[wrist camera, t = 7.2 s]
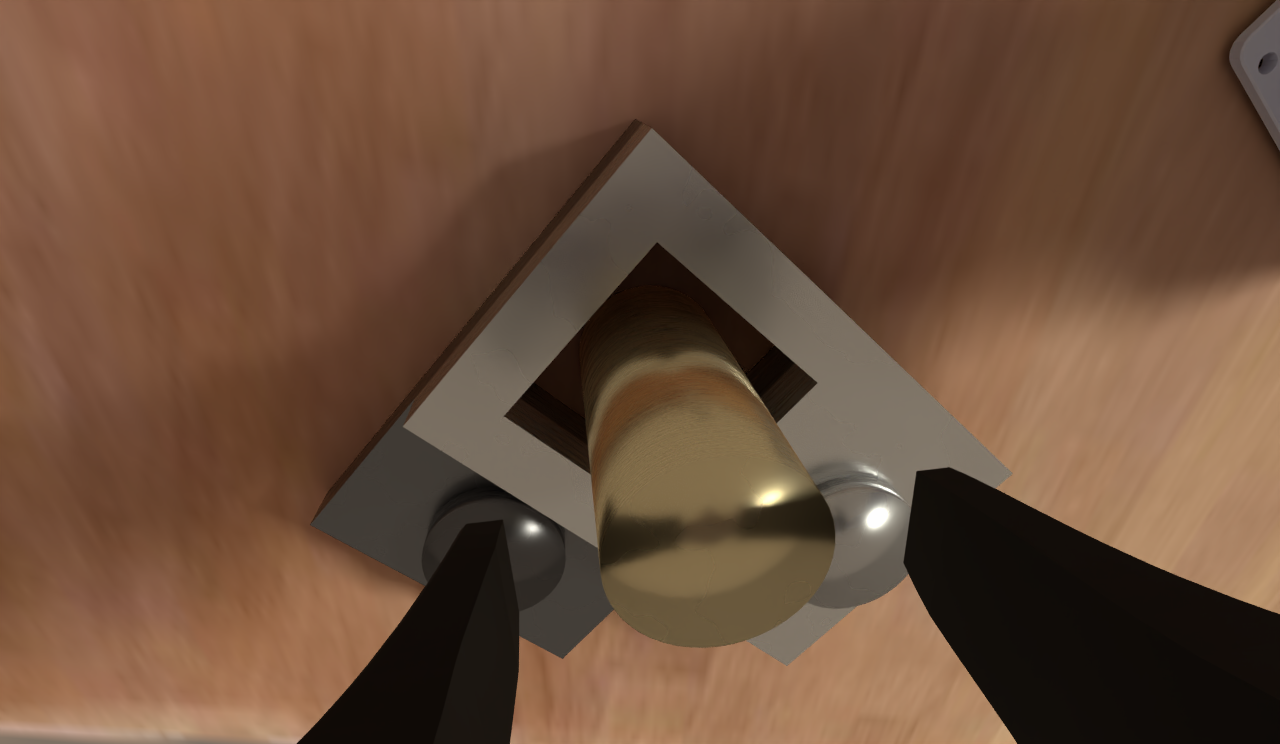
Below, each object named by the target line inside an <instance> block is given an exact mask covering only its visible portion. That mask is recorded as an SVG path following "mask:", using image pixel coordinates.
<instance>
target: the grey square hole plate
mask: <svg viewBox="0 0 1280 744" xmlns="http://www.w3.org/2000/svg"><path fill="white" fill-rule="evenodd" d="M657 242H658V243H659V244H660V245H661V246H662V247H663V248H664V249H666V250H667V251H668V252H669V253H670V254H671V255H672V256H674V257H675V258H676V259H677V260H678V261H679V262H680V263H682V264H683V265H684V266H685V267H686V268H687V269H688V270H690V271H691V272H692V273H693V274H694V275H695V276H696V277H698V278H699V279H700V280H701V281H702V282H703V283H704V284H706V285H707V286H708V287H709V288H710V289H711V290H712V291H713V292H715V293H716V294H717V295H718V296H719V297H720V298H721V299H723V300H724V301H725V302H726V303H727V304H728V305H729V306H731V307H732V308H733V309H734V310H735V311H736V312H737V313H739V314H740V315H741V316H742V317H743V318H744V319H745V320H747V321H748V322H749V323H750V324H751V325H752V326H753V327H755V328H756V329H757V330H758V331H759V332H760V333H761V334H763V335H764V336H765V337H766V338H767V339H768V340H769V341H771V342H772V343H773V344H774V345H775V346H776V347H777V348H778V349H780V350H781V351H782V352H783V353H784V354H785V355H786V356H788V357H789V358H790V359H791V360H792V361H793V362H794V364H793V365H792V366H791V367H790V368H789V369H788V370H787V371H786V372H785V373H784V374H783V375H782V376H781V377H780V378H779V379H778V380H777V381H776V382H775V383H774V384H773V385H772V386H771V387H770V388H769V389H768V390H767V391H766V392H765V393H764V394H763V395H762V396H761V397H760V398H761V400H762V402H763V403H764V405H765V406H766V408H767V409H768V411H769V412H770V414H771V416H772V417H773V419H774V420H775V422H776V423H777V425H778V427H779V428H780V430H781V431H782V433H783V434H784V436H785V438H786V439H787V441H788V442H789V444H790V445H791V447H792V448H793V450H794V452H795V453H796V455H797V456H798V458H799V459H800V461H801V463H802V464H803V466H804V467H805V469H806V470H807V472H808V473H809V475H810V477H811V478H812V480H813V481H814V483H815V484H816V486H817V488H818V489H819V491H820V492H821V494H822V495H823V497H824V499H825V501H826V502H827V504H828V506H829V508H830V511H831V514H832V517H833V520H834V526H835V549H834V555H833V559H832V562H831V565H830V568H829V570H828V572H827V574H826V576H825V579H824V581H823V582H822V584H821V585H820V587H819V588H818V590H817V591H816V593H815V594H814V595H813V596H812V597H811V599H810V600H809V601H808V602H807V603H806V604H805V605H804V606H803V607H802V608H801V609H800V610H799V611H798V612H797V613H795V614H794V615H793V616H791V617H790V618H789V619H788V620H786V621H785V622H783V623H781V624H780V625H778V626H777V627H775V628H773V629H771V630H769V631H767V632H765V633H763V634H761V635H759V636H756V637H754V638H751V639H749V640H746V641H748V642H749V643H751V644H753V645H754V646H756V647H757V648H759V649H761V650H762V651H764V652H765V653H767V654H769V655H770V656H772V657H773V658H775V659H777V660H778V661H780V662H781V663H783V664H785V665H786V666H787V665H789V664H790V663H791V662H792V661H793V660H794V659H796V658H797V657H798V656H799V655H800V654H801V653H803V652H804V651H805V650H806V649H807V648H808V647H810V646H811V645H812V644H813V643H814V642H816V641H817V640H818V639H819V638H820V637H821V636H823V635H824V634H825V633H826V632H827V631H828V630H830V629H831V628H832V627H833V626H834V625H835V624H837V623H838V622H839V621H840V620H841V619H843V618H844V617H845V616H846V615H847V614H848V613H850V612H851V611H852V610H853V609H854V608H855V607H857V606H859V605H862V604H866V603H868V602H871V601H873V600H875V599H877V598H879V597H881V596H883V595H884V594H886V593H888V592H889V591H891V590H892V589H893V588H894V587H896V586H897V585H898V584H899V583H900V582H901V581H902V580H903V579H904V578H905V577H906V576H907V575H908V572H907V570H906V568H905V565H904V563H903V561H904V554H905V547H906V540H907V533H908V526H909V519H910V512H911V505H912V498H913V491H914V484H915V477H916V471H921V470H930V469H938V468H947V467H950V468H953V469H955V470H957V471H960V472H962V473H964V474H966V475H969V476H971V477H973V478H975V479H977V480H979V481H981V482H983V483H985V484H987V485H989V486H991V487H993V488H996V487H998V486H999V485H1000V484H1001V483H1002V482H1003V481H1005V480H1006V479H1007V478H1008V477H1009V476H1011V475H1012V474H1013V473H1012V472H1011V471H1010V470H1008V469H1007V468H1006V467H1005V466H1004V465H1003V464H1002V463H1001V462H1000V461H999V460H998V459H997V458H996V457H995V456H994V455H993V454H992V453H991V452H990V451H989V450H988V449H987V448H986V447H984V446H983V445H982V444H981V443H980V442H979V441H978V440H977V439H976V438H975V437H974V436H973V435H972V434H971V433H970V432H969V431H968V430H967V429H966V428H965V427H964V426H963V425H961V424H960V423H959V422H958V421H957V420H956V419H955V418H954V417H953V416H952V415H951V414H950V413H949V412H948V411H947V410H946V409H945V408H944V407H943V406H942V405H941V404H940V403H939V402H937V401H936V400H935V399H934V398H933V397H932V396H931V395H930V394H929V393H928V392H927V391H926V390H925V389H924V388H923V387H922V386H921V385H920V384H919V383H918V382H917V381H916V380H914V379H913V378H912V377H911V376H910V375H909V374H908V373H907V372H906V371H905V370H904V369H903V368H902V367H901V366H900V365H899V364H898V363H897V362H896V361H895V360H894V359H893V358H892V357H890V356H889V355H888V354H887V353H886V352H885V351H884V350H883V349H882V348H881V347H880V346H879V345H878V344H877V343H876V342H875V341H874V340H873V339H872V338H871V337H870V336H869V335H868V334H866V333H865V332H864V331H863V330H862V329H861V328H860V327H859V326H858V325H857V324H856V323H855V322H854V321H853V320H852V319H851V318H850V317H849V316H848V315H847V314H846V313H845V312H843V311H842V310H841V309H840V308H839V307H838V306H837V305H836V304H835V303H834V302H833V301H832V300H831V299H830V298H829V297H828V296H827V295H826V294H825V293H824V292H823V291H822V290H821V289H819V288H818V287H817V286H816V285H815V284H814V283H813V282H812V281H811V280H810V279H809V278H808V277H807V276H806V275H805V274H804V273H803V272H802V271H801V270H800V269H799V268H798V267H796V266H795V265H794V264H793V263H792V262H791V261H790V260H789V259H788V258H787V257H786V256H785V255H784V254H783V253H782V252H781V251H780V250H779V249H778V248H777V247H776V246H775V245H774V244H772V243H771V242H770V241H769V240H768V239H767V238H766V237H765V236H764V235H763V234H762V233H761V232H760V231H759V230H758V229H757V228H756V227H755V226H754V225H753V224H752V223H751V222H749V221H748V220H747V219H746V218H745V217H744V216H743V215H742V214H741V213H740V212H739V211H738V210H737V209H736V208H735V207H734V206H733V205H732V204H731V203H730V202H729V201H728V200H727V199H725V198H724V197H723V196H722V195H721V194H720V193H719V192H718V191H717V190H716V189H715V188H714V187H713V186H712V185H711V184H710V183H709V182H708V181H707V180H706V179H705V178H704V177H703V176H701V175H700V174H699V173H698V172H697V171H696V170H695V169H694V168H693V167H692V166H691V165H690V164H689V163H688V162H687V161H686V160H685V159H684V158H683V157H682V156H681V155H680V154H678V153H677V152H676V151H675V150H674V149H673V148H672V147H671V146H670V145H669V144H668V143H667V142H666V141H665V140H664V139H663V138H662V137H661V136H660V135H659V134H658V133H657V132H656V131H654V130H653V129H652V128H651V127H649V126H647V125H645V124H644V123H643V124H642V125H641V126H640V127H639V129H638V130H637V131H636V132H635V133H634V135H633V136H632V137H631V138H630V139H629V141H628V142H627V143H626V144H625V145H624V147H623V148H622V149H621V150H620V151H619V153H618V154H617V155H616V156H615V157H614V159H613V160H612V161H611V162H610V164H609V165H608V166H607V167H606V168H605V170H604V171H603V172H602V173H601V174H600V176H599V177H598V178H597V179H596V180H595V182H594V183H593V184H592V185H591V186H590V188H589V189H588V190H587V191H586V193H585V194H584V195H583V196H582V197H581V199H580V200H579V201H578V202H577V203H576V205H575V206H574V207H573V208H572V209H571V211H570V212H569V213H568V214H567V215H566V217H565V218H564V219H563V220H562V221H561V223H560V224H559V225H558V226H557V228H556V229H555V230H554V231H553V232H552V234H551V235H550V236H549V237H548V238H547V240H546V241H545V242H544V243H543V244H542V246H541V247H540V248H539V249H538V250H537V252H536V253H535V254H534V255H533V256H532V258H531V259H530V260H529V261H528V263H527V264H526V265H525V266H524V267H523V269H522V270H521V271H520V272H519V273H518V275H517V276H516V277H515V278H514V279H513V281H512V282H511V283H510V284H509V285H508V287H507V288H506V289H505V290H504V292H503V293H502V294H501V295H500V296H499V298H498V299H497V300H496V301H495V302H494V304H493V305H492V306H491V307H490V308H489V310H488V311H487V312H486V313H485V314H484V316H483V317H482V318H481V319H480V320H479V322H478V323H477V324H476V325H475V327H474V328H473V329H472V330H471V331H470V333H469V334H468V335H467V336H466V337H465V339H464V340H463V341H462V342H461V343H460V345H459V346H458V347H457V348H456V349H455V351H454V352H453V353H452V354H451V355H450V357H449V358H448V359H447V360H446V362H445V363H444V364H443V365H442V366H441V368H440V369H439V370H438V371H437V372H436V374H435V375H434V376H433V377H432V378H431V380H430V381H429V382H428V383H427V384H426V386H425V387H424V388H423V389H422V390H421V392H420V393H419V394H418V395H417V397H416V398H415V399H414V401H413V404H412V406H411V408H410V411H409V413H408V416H407V418H406V420H405V423H404V425H403V427H404V428H406V429H407V430H409V431H410V432H412V433H414V434H415V435H417V436H418V437H420V438H422V439H423V440H425V441H426V442H428V443H430V444H431V445H433V446H434V447H436V448H438V449H439V450H441V451H443V452H444V453H446V454H447V455H449V456H451V457H452V458H454V459H455V460H457V461H459V462H460V463H462V464H463V465H465V466H467V467H468V468H470V469H471V470H473V471H475V472H476V473H478V474H479V475H481V476H483V477H484V478H486V479H488V480H489V481H491V482H492V483H494V484H496V485H497V486H499V487H500V488H502V489H504V490H505V491H507V492H508V493H510V494H512V495H513V496H515V497H516V498H518V499H520V500H521V501H523V502H524V503H526V504H528V505H529V506H531V507H532V508H534V509H536V510H537V511H539V512H541V513H542V514H544V515H545V516H547V517H549V518H550V519H552V520H553V521H555V522H557V523H558V524H560V525H561V526H563V527H565V528H566V529H568V530H569V531H571V532H573V533H574V534H576V535H577V536H579V537H581V538H582V539H584V540H586V541H587V542H589V543H590V544H592V545H594V546H595V547H597V548H598V543H597V533H596V523H595V513H594V503H593V493H592V482H591V472H590V462H589V452H588V445H587V444H586V443H584V442H583V441H581V440H580V439H578V438H577V437H575V436H574V435H573V434H571V433H570V432H568V431H567V430H565V429H564V428H562V427H561V426H560V425H558V424H557V423H555V422H554V421H552V420H551V419H549V418H548V417H546V416H545V415H544V414H542V413H541V412H539V411H538V410H536V409H535V408H533V407H532V406H531V405H529V404H528V403H526V402H525V401H523V400H522V399H520V397H521V396H522V395H523V394H524V392H525V391H526V390H527V389H528V388H529V387H530V386H531V385H532V383H533V382H534V381H535V380H536V379H537V378H538V377H539V375H540V374H541V373H542V372H543V371H544V370H545V369H546V367H547V366H548V365H549V364H550V363H551V362H552V361H553V360H554V358H555V357H556V356H557V355H558V354H559V353H560V352H561V350H562V349H563V348H564V347H565V346H566V345H567V344H568V343H569V341H570V340H571V339H572V338H573V337H574V336H575V335H576V333H577V332H578V331H579V330H580V329H581V328H582V327H583V325H584V324H585V323H586V322H587V321H588V320H589V319H590V318H591V316H592V315H593V314H594V313H595V312H596V311H597V310H598V308H599V307H600V306H601V305H602V304H603V303H604V302H605V301H606V299H607V298H608V297H609V296H610V295H611V294H612V293H613V291H614V290H615V289H616V288H617V287H618V286H619V285H620V283H621V282H622V281H623V280H624V279H625V278H626V277H627V276H628V274H629V273H630V272H631V271H632V270H633V269H634V268H635V266H636V265H637V264H638V263H639V262H640V261H641V260H642V259H643V257H644V256H645V255H646V254H647V253H648V252H649V251H650V249H651V248H652V247H653V246H654V245H655V244H656V243H657Z"/></svg>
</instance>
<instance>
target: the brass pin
mask: <svg viewBox="0 0 1280 744" xmlns="http://www.w3.org/2000/svg"><path fill="white" fill-rule="evenodd" d="M579 360H580V371H581V381H582V391H583V401H584V411H585V421H586V432H587V442H588V452H589V462H590V472H591V482H592V493H593V503H594V513H595V523H596V533H597V543H598V554H599V564H600V574H601V579H602V585H603V588H604V591H605V593H606V596H607V598H608V600H609V602H610V604H611V605H612V607H613V608H614V610H615V611H616V612H617V613H618V615H619V616H620V617H621V618H622V619H623V620H624V621H625V622H626V623H627V624H629V625H630V626H631V627H633V628H634V629H636V630H637V631H638V632H640V633H642V634H644V635H646V636H648V637H650V638H652V639H655V640H658V641H660V642H663V643H667V644H672V645H676V646H683V647H695V648H707V647H718V646H724V645H730V644H735V643H738V642H742V641H745V640H749V639H751V638H754V637H756V636H759V635H761V634H763V633H765V632H767V631H769V630H771V629H773V628H775V627H777V626H778V625H780V624H781V623H783V622H785V621H786V620H788V619H789V618H790V617H791V616H793V615H794V614H795V613H797V612H798V611H799V610H800V609H801V608H802V607H803V606H804V605H805V604H806V603H807V602H808V601H809V600H810V599H811V597H812V596H813V595H814V594H815V593H816V591H817V590H818V588H819V587H820V585H821V584H822V582H823V581H824V579H825V576H826V574H827V572H828V570H829V568H830V565H831V562H832V559H833V555H834V549H835V526H834V520H833V517H832V514H831V511H830V508H829V506H828V504H827V502H826V501H825V499H824V497H823V495H822V494H821V492H820V491H819V489H818V488H817V486H816V484H815V483H814V481H813V480H812V478H811V477H810V475H809V473H808V472H807V470H806V469H805V467H804V466H803V464H802V463H801V461H800V459H799V458H798V456H797V455H796V453H795V452H794V450H793V448H792V447H791V445H790V444H789V442H788V441H787V439H786V438H785V436H784V434H783V433H782V431H781V430H780V428H779V427H778V425H777V423H776V422H775V420H774V419H773V417H772V416H771V414H770V412H769V411H768V409H767V408H766V406H765V405H764V403H763V402H762V400H761V398H760V397H759V395H758V394H757V392H756V391H755V389H754V387H753V386H752V384H751V383H750V381H749V380H748V378H747V377H746V375H745V373H744V372H743V370H742V369H741V367H740V366H739V364H738V362H737V361H736V359H735V358H734V356H733V355H732V353H731V352H730V350H729V348H728V347H727V345H726V344H725V342H724V341H723V339H722V337H721V336H720V334H719V333H718V331H717V330H716V328H715V327H714V325H713V323H712V322H711V320H710V319H709V317H708V316H707V314H706V313H705V311H704V310H703V309H702V307H701V306H700V305H699V304H698V303H697V302H696V301H694V300H693V299H692V298H690V297H689V296H687V295H686V294H684V293H682V292H680V291H677V290H675V289H672V288H668V287H664V286H655V285H649V286H639V287H634V288H630V289H627V290H624V291H622V292H620V293H617V294H616V295H614V296H612V297H610V298H609V299H608V300H606V301H605V302H604V303H603V304H602V305H601V306H600V307H599V308H598V310H597V311H596V312H595V313H594V314H593V315H592V316H591V318H590V319H589V320H588V322H587V324H586V325H585V328H584V330H583V333H582V336H581V340H580V346H579Z"/></svg>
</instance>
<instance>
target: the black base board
mask: <svg viewBox="0 0 1280 744" xmlns="http://www.w3.org/2000/svg"><path fill="white" fill-rule="evenodd" d="M642 124H643V123H642V122H640V121H638V120H636V119H635V120H634V121H633V123H632V124H631V125H630V126H629V127H628V129H627V130H626V131H625V132H624V134H623V135H622V136H621V137H620V138H619V140H618V141H617V142H616V143H615V144H614V146H613V147H612V148H611V149H610V151H609V152H608V153H607V154H606V155H605V157H604V158H603V159H602V160H601V161H600V163H599V164H598V165H597V166H596V168H595V169H594V170H593V171H592V172H591V174H590V175H589V176H588V177H587V178H586V180H585V181H584V182H583V183H582V185H581V186H580V187H579V188H578V189H577V191H576V192H575V193H574V194H573V195H572V197H571V198H570V199H569V200H568V202H567V203H566V204H565V205H564V206H563V208H562V209H561V210H560V211H559V212H558V214H557V215H556V216H555V217H554V219H553V220H552V221H551V222H550V223H549V225H548V226H547V227H546V228H545V229H544V231H543V232H542V233H541V234H540V236H539V237H538V238H537V239H536V240H535V242H534V243H533V244H532V245H531V246H530V248H529V249H528V250H527V251H526V253H525V254H524V255H523V256H522V257H521V259H520V260H519V261H518V262H517V263H516V265H515V266H514V267H513V268H512V270H511V271H510V272H509V273H508V274H507V276H506V277H505V278H504V279H503V280H502V282H501V283H500V284H499V285H498V287H497V288H496V289H495V290H494V291H493V293H492V294H491V295H490V296H489V297H488V299H487V300H486V301H485V302H484V304H483V305H482V306H481V307H480V308H479V310H478V311H477V312H476V313H475V314H474V316H473V317H472V318H471V319H470V321H469V322H468V323H467V324H466V325H465V327H464V328H463V329H462V330H461V331H460V333H459V334H458V335H457V336H456V338H455V339H454V340H453V341H452V342H451V344H450V345H449V346H448V347H447V348H446V350H445V351H444V352H443V353H442V355H441V356H440V357H439V358H438V359H437V361H436V362H435V363H434V364H433V365H432V367H431V368H430V369H429V370H428V372H427V373H426V374H425V375H424V376H423V378H422V379H421V380H420V381H419V382H418V384H417V385H416V386H415V387H414V389H413V390H412V391H411V392H410V393H409V395H408V396H407V397H406V398H405V399H404V401H403V402H402V403H401V404H400V406H399V407H398V408H397V409H396V410H395V412H394V413H393V414H392V415H391V416H390V418H389V419H388V420H387V421H386V423H385V424H384V425H383V426H382V427H381V429H380V430H379V431H378V432H377V433H376V435H375V436H374V437H373V438H372V440H371V441H370V442H369V443H368V444H367V446H366V447H365V448H364V449H363V450H362V452H361V453H360V454H359V455H358V457H357V458H356V459H355V460H354V461H353V463H352V464H351V465H350V466H349V467H348V469H347V470H346V471H345V472H344V474H343V475H342V476H341V477H340V478H339V480H338V481H337V482H336V483H335V484H334V486H333V487H332V488H331V489H330V491H329V492H328V493H327V494H326V496H325V498H324V500H323V502H322V504H321V506H320V507H319V509H318V511H317V513H316V515H315V517H314V519H313V521H312V522H311V524H310V525H311V526H313V527H315V528H317V529H319V530H321V531H323V532H325V533H326V534H328V535H330V536H332V537H334V538H336V539H338V540H340V541H342V542H343V543H345V544H347V545H349V546H351V547H353V548H355V549H357V550H359V551H360V552H362V553H364V554H366V555H368V556H370V557H372V558H374V559H375V560H377V561H379V562H381V563H383V564H385V565H387V566H389V567H391V568H392V569H394V570H396V571H398V572H400V573H402V574H404V575H406V576H408V577H409V578H411V579H413V580H415V581H417V582H419V583H421V584H423V585H424V586H426V585H427V583H428V582H429V580H430V578H431V577H432V575H433V574H434V572H435V571H436V569H437V568H438V566H439V565H440V563H441V561H442V560H443V558H444V557H445V555H446V553H447V552H448V550H449V548H450V547H451V545H452V543H453V542H454V540H455V538H456V537H457V535H458V533H459V532H460V530H461V529H462V528H463V527H464V526H465V525H466V524H469V523H477V522H486V521H494V520H503V522H504V528H505V533H506V539H507V545H508V551H509V556H510V562H511V568H512V573H513V579H514V585H515V591H516V596H517V602H518V608H519V636H521V637H522V638H524V639H526V640H528V641H530V642H532V643H534V644H536V645H538V646H539V647H541V648H543V649H545V650H547V651H549V652H551V653H553V654H555V655H556V656H558V657H560V658H562V659H563V658H564V657H565V656H566V655H567V654H568V653H569V652H570V651H571V650H572V649H573V648H574V647H575V646H576V645H577V644H578V643H579V642H580V641H581V640H582V639H583V638H585V637H586V636H587V635H588V634H589V633H590V632H591V631H592V630H593V629H594V628H595V627H596V626H597V625H598V624H599V623H600V622H601V621H602V620H603V619H604V618H605V617H606V616H607V615H608V614H609V613H610V612H612V611H613V610H614V608H613V607H612V605H611V604H610V602H609V600H608V598H607V596H606V593H605V591H604V588H603V585H602V579H601V574H600V564H599V554H598V548H597V547H595V546H594V545H592V544H590V543H589V542H587V541H586V540H584V539H582V538H581V537H579V536H577V535H576V534H574V533H573V532H571V531H569V530H568V529H566V528H565V527H563V526H561V525H560V524H558V523H557V522H555V521H553V520H552V519H550V518H549V517H547V516H545V515H544V514H542V513H541V512H539V511H537V510H536V509H534V508H532V507H531V506H529V505H528V504H526V503H524V502H523V501H521V500H520V499H518V498H516V497H515V496H513V495H512V494H510V493H508V492H507V491H505V490H504V489H502V488H500V487H499V486H497V485H496V484H494V483H492V482H491V481H489V480H488V479H486V478H484V477H483V476H481V475H479V474H478V473H476V472H475V471H473V470H471V469H470V468H468V467H467V466H465V465H463V464H462V463H460V462H459V461H457V460H455V459H454V458H452V457H451V456H449V455H447V454H446V453H444V452H443V451H441V450H439V449H438V448H436V447H434V446H433V445H431V444H430V443H428V442H426V441H425V440H423V439H422V438H420V437H418V436H417V435H415V434H414V433H412V432H410V431H409V430H407V429H406V428H404V427H403V425H404V423H405V420H406V418H407V416H408V413H409V411H410V408H411V406H412V404H413V401H414V399H415V398H416V397H417V395H418V394H419V393H420V392H421V390H422V389H423V388H424V387H425V386H426V384H427V383H428V382H429V381H430V380H431V378H432V377H433V376H434V375H435V374H436V372H437V371H438V370H439V369H440V368H441V366H442V365H443V364H444V363H445V362H446V360H447V359H448V358H449V357H450V355H451V354H452V353H453V352H454V351H455V349H456V348H457V347H458V346H459V345H460V343H461V342H462V341H463V340H464V339H465V337H466V336H467V335H468V334H469V333H470V331H471V330H472V329H473V328H474V327H475V325H476V324H477V323H478V322H479V320H480V319H481V318H482V317H483V316H484V314H485V313H486V312H487V311H488V310H489V308H490V307H491V306H492V305H493V304H494V302H495V301H496V300H497V299H498V298H499V296H500V295H501V294H502V293H503V292H504V290H505V289H506V288H507V287H508V285H509V284H510V283H511V282H512V281H513V279H514V278H515V277H516V276H517V275H518V273H519V272H520V271H521V270H522V269H523V267H524V266H525V265H526V264H527V263H528V261H529V260H530V259H531V258H532V256H533V255H534V254H535V253H536V252H537V250H538V249H539V248H540V247H541V246H542V244H543V243H544V242H545V241H546V240H547V238H548V237H549V236H550V235H551V234H552V232H553V231H554V230H555V229H556V228H557V226H558V225H559V224H560V223H561V221H562V220H563V219H564V218H565V217H566V215H567V214H568V213H569V212H570V211H571V209H572V208H573V207H574V206H575V205H576V203H577V202H578V201H579V200H580V199H581V197H582V196H583V195H584V194H585V193H586V191H587V190H588V189H589V188H590V186H591V185H592V184H593V183H594V182H595V180H596V179H597V178H598V177H599V176H600V174H601V173H602V172H603V171H604V170H605V168H606V167H607V166H608V165H609V164H610V162H611V161H612V160H613V159H614V157H615V156H616V155H617V154H618V153H619V151H620V150H621V149H622V148H623V147H624V145H625V144H626V143H627V142H628V141H629V139H630V138H631V137H632V136H633V135H634V133H635V132H636V131H637V130H638V129H639V127H640V126H641V125H642ZM793 364H794V362H793V361H792V360H791V359H790V358H789V357H788V356H786V355H785V354H784V353H783V352H782V351H781V350H780V349H778V348H777V347H776V346H774V347H773V348H772V349H771V350H770V351H769V353H768V354H767V355H766V356H765V357H764V358H763V359H762V360H761V361H760V362H759V363H758V364H757V365H756V366H755V367H754V368H753V369H752V370H751V371H750V372H749V373H748V374H747V375H746V377H747V378H748V380H749V381H750V383H751V384H752V386H753V387H754V389H755V391H756V392H757V394H758V395H759V397H761V396H762V395H763V394H764V393H765V392H766V391H767V390H768V389H769V388H770V387H771V386H772V385H773V384H774V383H775V382H776V381H777V380H778V379H779V378H780V377H781V376H782V375H783V374H784V373H785V372H786V371H787V370H788V369H789V368H790V367H791V366H792V365H793ZM520 399H522V400H523V401H525V402H526V403H528V404H529V405H531V406H532V407H533V408H535V409H536V410H538V411H539V412H541V413H542V414H544V415H545V416H546V417H548V418H549V419H551V420H552V421H554V422H555V423H557V424H558V425H560V426H561V427H562V428H564V429H565V430H567V431H568V432H570V433H571V434H573V435H574V436H575V437H577V438H578V439H580V440H581V441H583V442H584V443H586V444H587V445H588V442H587V432H586V421H585V419H584V418H582V417H581V416H580V415H578V414H577V413H575V412H574V411H573V410H571V409H570V408H568V407H567V406H565V405H564V404H563V403H561V402H560V401H558V400H557V399H556V398H554V397H553V396H551V395H550V394H549V393H547V392H546V391H544V390H543V389H541V388H540V387H539V386H537V385H536V384H534V383H532V385H531V386H530V387H529V388H528V389H527V390H526V391H525V392H524V394H523V395H522V396H521V397H520Z"/></svg>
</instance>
